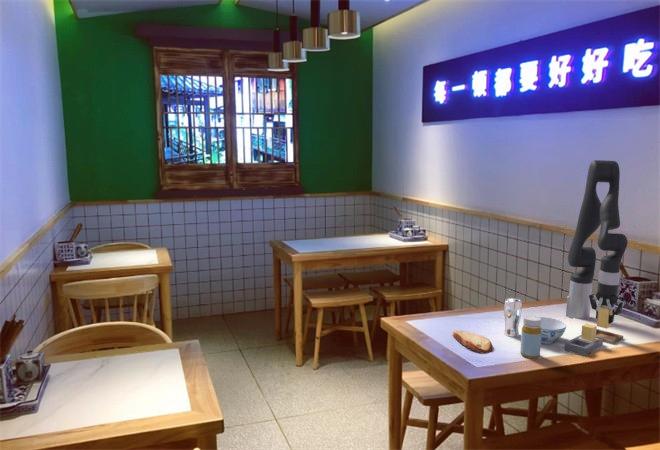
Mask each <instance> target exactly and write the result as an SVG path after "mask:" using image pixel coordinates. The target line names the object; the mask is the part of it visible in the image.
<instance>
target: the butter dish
mask: <svg viewBox="0 0 660 450" xmlns="http://www.w3.org/2000/svg"><path fill="white" fill-rule="evenodd" d="M597 329H598V326H597V325H594V324H590V323H584V324H583V325H582V326H581V332H580V333H581V334H580V335H578V336H576V337H573V338H572V339H570V340H567V341H566V342H564V343H565V344H564V351H567V352H570V353H573V354H576V355H580V356H583V357H587V356H589V355H590V354H592V352H593V351H594V350H596V349H598V348H599V347H601V346H603V343H604V342H603V339H599V338H596V330H597Z"/></svg>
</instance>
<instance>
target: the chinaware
mask: <svg viewBox="0 0 660 450" xmlns="http://www.w3.org/2000/svg"><path fill="white" fill-rule="evenodd" d="M539 317H540V318H541V326H540V328H541V344H546V345H551V344H553V343H555V341H556V340H558V339H560V338H561V337H562V336H563V335H564V333H565V331H566V329H567V323H565V322H564V321H562V320H560V319H556V318H554V317H547V316H546V317H545V316H539Z"/></svg>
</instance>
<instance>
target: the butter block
mask: <svg viewBox="0 0 660 450" xmlns="http://www.w3.org/2000/svg"><path fill="white" fill-rule="evenodd" d="M609 315H610V313H609V310H608V306H605V305H604V306H602V307H599V309H598V319H596V326H597V328H598V327H599V328H603V329H606V330H607V329H610V328H611V327H612V323H611V324H609V323H608V321H609Z"/></svg>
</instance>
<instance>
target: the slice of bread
mask: <svg viewBox="0 0 660 450" xmlns="http://www.w3.org/2000/svg"><path fill="white" fill-rule="evenodd" d="M451 336H452V337H453V339H455V340H456V341H457V342H458V343H460V344H461V345H462V346H464V347H465V348H467V349H469V350H471V351H473V352H475V353H481V354H488V353H492V350H493V343H492V341H491V340H490V339H489V338H488V337H485V336H484V335H480V334H477V333H474V332H471V331H467V330H458V329H457V330H454V331H453V332H452V335H451Z"/></svg>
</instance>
